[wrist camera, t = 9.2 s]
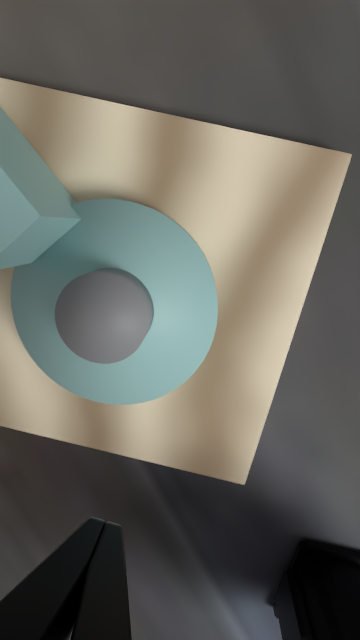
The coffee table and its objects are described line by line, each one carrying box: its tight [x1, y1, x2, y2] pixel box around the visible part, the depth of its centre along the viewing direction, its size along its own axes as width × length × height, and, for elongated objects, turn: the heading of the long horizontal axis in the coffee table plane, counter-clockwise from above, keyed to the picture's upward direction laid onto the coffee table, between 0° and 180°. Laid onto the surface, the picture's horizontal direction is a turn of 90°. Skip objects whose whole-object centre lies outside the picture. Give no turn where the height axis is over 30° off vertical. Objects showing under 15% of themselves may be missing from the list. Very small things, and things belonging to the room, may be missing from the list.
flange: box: [0, 106, 218, 405], centre depth 14 cm, size 16×10×5 cm, turn 38°
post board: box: [0, 78, 352, 485], centre depth 16 cm, size 18×18×5 cm
